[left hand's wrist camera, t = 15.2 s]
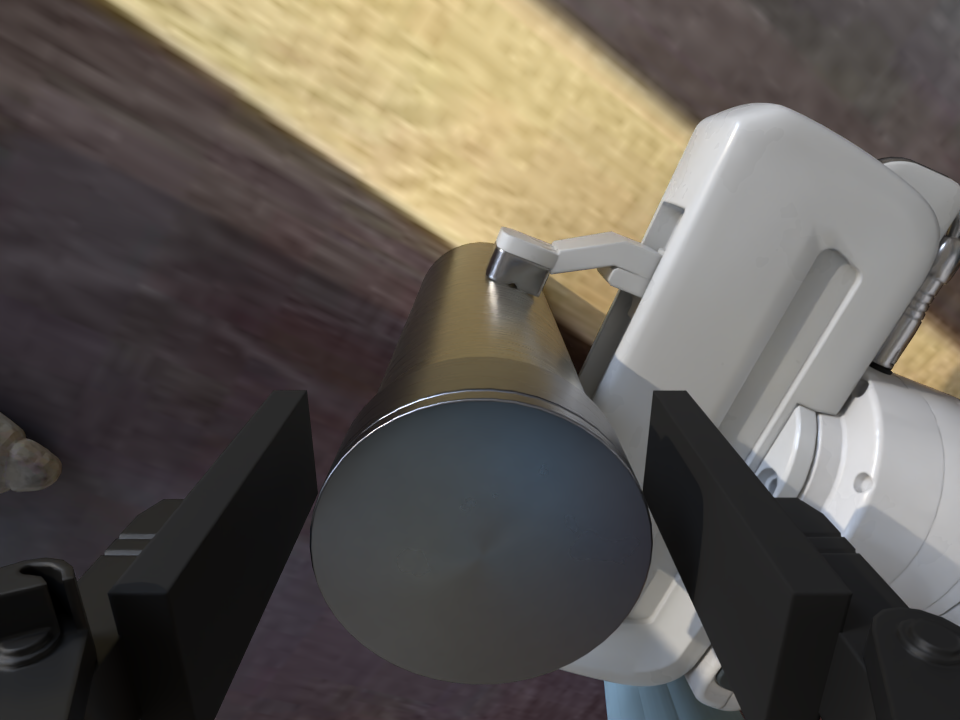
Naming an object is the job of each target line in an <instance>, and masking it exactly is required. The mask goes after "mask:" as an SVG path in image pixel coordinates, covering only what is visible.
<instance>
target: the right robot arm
mask: <svg viewBox="0 0 960 720" xmlns="http://www.w3.org/2000/svg"><path fill="white" fill-rule="evenodd" d="M947 230H948V231H947ZM946 231H947V233H946ZM945 233H946V235H945ZM959 267H960V185H959V184H958V183H956V182H955V181H953V180H952V179H950V178H949V177H948V176H946V175H944V174H942V173H940V172H937V171H935V170H933V169H931V168H928V167H926V166H924V165H922V164H920V163H917V162H915V161H913V160H911V159H907V158H903V157H886V158H880V159H876V158H874V157H873V156H871V155H870V154H868V153H867V152H865V151H864V150H862V149H861V148H859V147H858V146H856V145H855V144H853V143H852V142H850V141H848V140H847V139H845V138H843V137H842V136H840V135H838V134H837V133H835V132H833V131H832V130H830V129H828V128H827V127H825V126H823V125H821V124H819V123H817V122H816V121H814V120H812V119H810V118H808V117H806V116H804V115H802V114H800V113H798V112H796V111H794V110H792V109H789V108H787V107H785V106H782V105H777V104H771V103H749V104H744V105H739V106H736V107H733V108H730V109H727V110H724V111H722V112H719V113H717V114H714V115H712V116H710V117H707V118H705V119H704V120H702V121H701V122H700V123H699V124H698V125H697V127H696V128H695V130H694V132H693V134H692V136H691V138H690V140H689V142H688V145H687V147H686V149H685V151H684V153H683V155H682V157H681V159H680V161H679V164H678V166H677V168H676V170H675V172H674V174H673V176H672V178H671V180H670V183H669V185H668V187H667V189H666V191H665V193H664V195H663V197H662V199H661V201H660V204H659V206H658V208H657V210H656V212H655V214H654V216H653V218H652V220H651V223H650V225H649V227H648V229H647V231H646V233H645V235H644V237H643V239H642V242H641V243H640V242H637V241H635V240H632V239H629V238H627V237H624V236H622V235H619V234H617V233H614V232H612V231H610V232H604V233H598V234H593V235H587V236H581V237H575V238H569V239H563V240H557V241H553V243H552V244H549V243H546V242H544V241H541V240H539V239H536V238H534V237H531V236H529V235H526V234H524V233H521V232H518V231H516V230H513V229H510V228H506V227H502V226H501V229H500V231H499V234H498V237H497V239H496V241H495V244H494V247H493V249H492V252H491V255H490V258H489V260H488V263H487V266H486V269H485V270H486V275H487V276H488V277H489V278H491V279H493V280H495V281H497V282H501V283H504V284H511V283H515V285H516V286H517V288H518V289H520V290H522V291H524V292H526V293H528V294H531V295H534V296H536V297H539V295H540V293H541V291H542V289H543V287H544V284H545V282H546V280H547V278H548V276H549V273H550V274H557V273H564V272H572V271H579V270H586V269H594V268H597V271H598V272H599V273H600V274H601V276H602V277H603V278H604V279H605V280H606V281H607V282H608V283H609V284H610V285H611V286H613V287H616V288H618V289H619V290H618V292H617V294H616V296H615V298H614V301H613V303H612V305H611V307H610V309H609V311H608V313H607V315H606V317H605V320H604V322H603V324H602V326H601V328H600V330H599V332H598V334H597V336H596V338H595V341H594V343H593V345H592V347H591V349H590V351H589V353H588V355H587V357H586V360H585V362H584V364H583V366H582V368H581V370H580V372H579V374H578V378H579V380H580V382H581V385H582V387H583V390H584V392H585V394H586V395H587V396H588V397H589V398H590V399H591V400H592V401H593V402H594V403H595V404H596V405H597V406H598V408H599V409H600V410H601V411H602V413H603V414H604V415H605V416H606V418H607V419H608V421H609V423H610V424H611V426H612V428H613V429H614V431H615V433H616V435H617V437H618V439H619V441H620V443H621V446H622V448H623V450H624V452H625V454H626V457H627V459H628V461H629V463H630V465H631V467H632V470H633V472H634V474H635V476H636V478H637V480H638V483H639V485H640V487H641V489H642V490H643V481H644V471H645V462H646V453H647V443H648V434H649V424H650V415H651V406H652V396H653V390H686V391H687V392H688V393H689V394H690V396H691V397H692V398H693V399H694V400H695V402H696V403H697V404H698V405H699V407H700V408H701V409H702V410H703V411H704V413H705V414H706V415H707V416H708V418H709V419H710V420H711V421H712V422H713V424H714V425H715V426H716V427H717V428H718V430H719V431H720V432H721V433H722V435H723V436H724V437H725V438H726V439H727V441H728V442H729V443H730V444H731V446H732V447H733V448H734V449H735V450H736V452H737V453H738V454H739V455H740V456H741V458H742V459H743V460H744V461H745V463H746V464H747V465H748V466H749V467H750V469H751V470H752V471H753V472H754V474H755V475H756V476H757V477H758V478H759V480H760V481H761V482H762V483H763V484H764V486H765V487H766V488H767V489H768V491H769V492H770V493H771V494H772V495H773V497H797V498H799V499H800V500H802V501H804V502H805V503H807V504H808V505H810V506H812V507H813V508H815V509H816V510H818V511H820V512H821V513H823V514H824V515H825V516H826V517H827V518H828V519H829V521H830V522H831V523H832V524H833V525H834V526H835V527H836V528H837V529H838V530H839V531H840V533H841V537H845V538H846V539H847V540H848V541H849V542H850V543H851V545H852V546H853V547H854V548H855V549H856V553H860V554H861V555H862V557H863V558H864V559H865V560H866V561H867V562H868V563H869V564H870V565H871V566H872V567H873V569H874V570H875V571H876V572H877V573H878V574H879V575H880V576H881V577H882V578H883V579H884V581H885V582H886V583H887V584H888V585H889V586H890V587H891V588H892V589H893V590H894V591H895V593H896V594H897V595H898V596H899V597H900V598H901V599H902V600H903V601H904V602H905V603H906V605H907V606H908V607H909V608H912V609H919V610H923V611H926V612H929V613H931V614H934V615H937V616H940V617H943V618H945V619H947V620H949V621H951V622H952V623H954V624H956V625H958V626H960V399H958V398H956V397H953V396H951V395H949V394H946V393H944V392H941V391H938V390H936V389H933V388H931V387H928V386H926V385H923V384H921V383H918V382H916V381H913V380H910V379H908V378H905V377H903V376H900V375H898V374H895V373H893V372H892V371H891V369H892V368H893V366H894V364H895V363H896V362H897V360H898V359H899V357H900V356H901V354H902V353H903V351H904V350H905V348H906V347H907V345H908V344H909V342H910V341H911V339H912V338H913V336H914V335H915V333H916V331H917V330H918V328H919V326H920V324H921V323H922V322H921V320H923V319H924V316H925V312H927V310H928V308H929V307H930V306H929V304H931V303H932V301H933V300H934V296H936V295H937V294H938V292H939V291H940V289H941V288H942V286H943V285H944V284H947V283H948V282H949V281H950V280H951V278H952V277H953V276H954V274H955V273H956V271H957V270H958V268H959ZM648 509H649V507H648ZM649 513H650V518H651V522H652V534H653V549H652V559H651V564H650V568H649V572H648V576H647V580H646V583H645V585H644V587H643V590H642V592H641V594H640V597H639V599H638V600H637V602H636V604H635V605H634V607H633V609H632V610H631V612H630V614H629V615H628V616H627V617H626V619H625V620H624V621H623V622H622V624H621V625H620V626H619V627H618V629H617V630H615V631H614V632H613V633H612V634H611V635H610V636H609V637H608V638H607V639H606V640H605V641H604V642H603V643H601V644H600V645H599V646H597V647H596V648H595V649H593V650H592V651H591V652H589V653H588V654H586V655H585V656H583V657H581V658H580V659H578V660H576V661H574V662H573V663H571V664H569V665H566V666H564V667H562V668H560V670H564V671H567V672H571V673H575V674H579V675H583V676H587V677H590V678H595V679H599V680H603V681H608V682H612V683H617V684H622V685H630V686H657V685H662V684H666V683H669V682H672V681H674V680H676V679H678V678H680V677H681V676H683V675H684V676H685V678H686V680H687V682H688V684H689V686H690V688H691V690H692V692H693V694H694V695H695V697H696V699H697V700H698V701H700V702H701V703H703V704H705V705H707V706H710V707H712V708H715V709H719V710H724V711H738V710H741V708H740V706H739V704H738V702H737V699H736V697H735V695H734V693H733V691H732V689H731V686H730V684H729V682H728V680H727V678H726V675H725V673H724V671H723V669H722V667H721V665H720V662H719V660H718V658H717V656H716V654H715V651H714V649H713V647H712V645H711V643H710V641H709V638H708V636H707V634H706V632H705V630H704V627H703V625H702V623H701V621H700V619H699V616H698V614H697V612H696V610H695V608H694V606H693V603H692V601H691V599H690V597H689V595H688V592H687V590H686V588H685V586H684V584H683V582H682V579H681V577H680V575H679V573H678V571H677V568H676V566H675V564H674V562H673V560H672V558H671V555H670V553H669V551H668V549H667V547H666V544H665V542H664V540H663V538H662V536H661V533H660V531H659V529H658V527H657V525H656V523H655V520H654V518H653V516H652V514H651V512H650V509H649Z"/></svg>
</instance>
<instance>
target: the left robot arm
mask: <svg viewBox="0 0 960 720" xmlns="http://www.w3.org/2000/svg"><path fill="white" fill-rule="evenodd" d="M642 492H643V495H644V497H645V500H646V502H647V505H648V507H649V509H650V512H651V514H652V516H653V518H654V520H655V523H656V525H657V527H658V529H659V531H660V533H661V536H662V538H663V540H664V542H665V544H666V547H667V549H668V551H669V553H670V555H671V558H672V560H673V562H674V564H675V566H676V568H677V571H678V573H679V575H680V577H681V579H682V582H683V584H684V586H685V588H686V590H687V592H688V595H689V597H690V599H691V601H692V603H693V606H694V608H695V610H696V612H697V614H698V616H699V619H700V621H701V623H702V625H703V627H704V630H705V632H706V634H707V636H708V638H709V641H710V643H711V645H712V647H713V649H714V651H715V654H716V656H717V658H718V660H719V662H720V665H721V667H722V669H723V671H724V673H725V675H726V678H727V680H728V682H729V684H730V686H731V689H732V691H733V693H734V695H735V697H736V699H737V702H738V704H739V706H740V708H741V710H742V713H743V715H744V717H745V719H746V720H820V717H821V718H822V720H960V626H958V625H956V624H954V623H952V622H951V621H949V620H947V619H945V618H943V617H940V616H937V615H934V614H931V613H929V612H926V611H923V610H919V609H912V608H909V607H908V606H907V605H906V603H905V602H904V601H903V600H902V599H901V598H900V597H899V596H898V595H897V594H896V593H895V591H894V590H893V589H892V588H891V587H890V586H889V585H888V584H887V583H886V582H885V581H884V579H883V578H882V577H881V576H880V575H879V574H878V573H877V572H876V571H875V570H874V569H873V567H872V566H871V565H870V564H869V563H868V562H867V561H866V560H865V559H864V558H863V557H862V555H861V554H860V553H856V549H855V548H854V547H853V546H852V545H851V543H850V542H849V541H848V540H847V539H846V538H845V537H841V533H840V531H839V530H838V529H837V528H836V527H835V526H834V525H833V524H832V523H831V522H830V521H829V519H828V518H827V517H826V516H825V515H824V514H823V513H821V512H820V511H818V510H816V509H815V508H813V507H812V506H810V505H808V504H807V503H805V502H804V501H802V500H800V499H799V498H797V497H773V495H772V494H771V493H770V492H769V491H768V489H767V488H766V487H765V486H764V484H763V483H762V482H761V481H760V480H759V478H758V477H757V476H756V475H755V474H754V472H753V471H752V470H751V469H750V467H749V466H748V465H747V464H746V463H745V461H744V460H743V459H742V458H741V456H740V455H739V454H738V453H737V452H736V450H735V449H734V448H733V447H732V446H731V444H730V443H729V442H728V441H727V439H726V438H725V437H724V436H723V435H722V433H721V432H720V431H719V430H718V428H717V427H716V426H715V425H714V424H713V422H712V421H711V420H710V419H709V418H708V416H707V415H706V414H705V413H704V411H703V410H702V409H701V408H700V407H699V405H698V404H697V403H696V402H695V400H694V399H693V398H692V397H691V396H690V394H689V393H688V392H687V391H686V390H653V396H652V406H651V415H650V424H649V434H648V443H647V453H646V462H645V471H644V481H643V490H642ZM317 494H318V490H317V481H316V471H315V462H314V453H313V443H312V434H311V424H310V415H309V406H308V396H307V390H274V391H273V392H272V393H271V394H270V396H269V397H268V398H267V399H266V400H265V402H264V403H263V404H262V405H261V407H260V408H259V409H258V410H257V411H256V413H255V414H254V415H253V416H252V418H251V419H250V420H249V421H248V422H247V424H246V425H245V426H244V427H243V428H242V430H241V431H240V432H239V433H238V435H237V436H236V437H235V438H234V439H233V441H232V442H231V443H230V444H229V446H228V447H227V448H226V449H225V450H224V452H223V453H222V454H221V455H220V456H219V458H218V459H217V460H216V461H215V463H214V464H213V465H212V466H211V467H210V469H209V470H208V471H207V472H206V474H205V475H204V476H203V477H202V478H201V480H200V481H199V482H198V483H197V484H196V486H195V487H194V488H193V489H192V491H191V492H190V493H189V494H188V495H187V497H186V498H185V499H163V500H162V501H160V502H158V503H157V504H155V505H154V506H152V507H150V508H149V509H147V510H146V511H144V512H142V513H141V514H139V515H138V516H137V517H136V518H135V519H134V520H133V521H132V522H131V523H130V524H129V525H128V526H127V528H126V529H125V530H124V531H123V532H122V533H121V534H120V537H119V539H116V540H115V541H114V542H113V543H112V544H111V545H110V546H109V547H108V548H107V549H106V551H105V555H101V556H100V557H99V558H98V559H97V560H96V562H95V563H94V564H93V565H92V566H91V567H90V568H89V569H88V570H87V571H86V573H85V574H84V575H83V576H82V577H81V578H80V579H79V580H78V581H77V580H76V577H75V573H74V569H73V567H72V566H71V565H69V564H68V563H67V562H65V561H64V560H59V559H52V558H40V559H32V560H24V561H21V562H18V563H14V564H11V565H8V566H4V567H1V568H0V720H214V719H215V717H216V715H217V713H218V710H219V708H220V706H221V704H222V702H223V699H224V697H225V695H226V693H227V691H228V689H229V686H230V684H231V682H232V680H233V678H234V675H235V673H236V671H237V669H238V667H239V665H240V662H241V660H242V658H243V656H244V654H245V651H246V649H247V647H248V645H249V643H250V641H251V638H252V636H253V634H254V632H255V630H256V627H257V625H258V623H259V621H260V619H261V616H262V614H263V612H264V610H265V608H266V606H267V603H268V601H269V599H270V597H271V595H272V592H273V590H274V588H275V586H276V584H277V582H278V579H279V577H280V575H281V573H282V571H283V568H284V566H285V564H286V562H287V560H288V558H289V555H290V553H291V551H292V549H293V547H294V544H295V542H296V540H297V538H298V536H299V534H300V531H301V529H302V527H303V525H304V523H305V520H306V518H307V516H308V514H309V512H310V509H311V507H312V505H313V503H314V501H315V499H316V496H317Z"/></svg>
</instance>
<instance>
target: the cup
mask: <svg viewBox="0 0 960 720" xmlns="http://www.w3.org/2000/svg"><path fill="white" fill-rule="evenodd" d="M604 686H605V696H606V706H607V716H608V720H744V718H743V716H742V714H741V713H740V711H739V710H738V711H724V710H719V709H715V708H712V707H710V706H707V705H705V704H703V703H701V702H700V701H698V700H697V699H696V697H695V695H694V694H693V692H692V690H691V688H690V686H689V684H688V682H687V680H686V678H685V676H684V675H683V676H681V677H680V678H678V679H676V680H674V681H672V682H669V683H666V684H662V685H657V686H630V685H622V684H617V683H612V682H608V681H604Z"/></svg>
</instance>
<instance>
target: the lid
mask: <svg viewBox="0 0 960 720" xmlns="http://www.w3.org/2000/svg"><path fill="white" fill-rule="evenodd" d="M652 549H653V534H652V522H651V518H650V513H649V509H648V505H647V502H646V500H645V497H644V495H643V492H642V489H641V487H640V485H639V483H638V480H637V478H636V476H635V474H634V472H633V470H632V467H631V465H630V463H629V461H628V459H627V457H626V454H625V452H624V450H623V448H622V446H621V443H620V441H619V439H618V437H617V435H616V433H615V431H614V429H613V428H612V426H611V424H610V423H609V421H608V419H607V418H606V416H605V415H604V414H603V413H602V411H601V410H600V409H599V408H598V406H597V405H596V404H595V403H594V402H593V401H592V400H591V399H590V398H589V397H588V396H587V395H586V394H584V393H583V392H582V391H581V390H580V389H578V388H577V387H575V386H574V385H573V384H571V383H570V382H568V381H567V380H565V379H564V378H562V377H560V376H558V375H556V374H554V373H552V372H550V371H548V370H546V369H543V368H540V367H538V366H535V365H532V364H530V363H525V362H521V361H517V360H513V359H507V358H498V357H464V358H456V359H449V360H445V361H441V362H437V363H434V364H430V365H427V366H424V367H422V368H420V369H417V370H415V371H412V372H410V373H408V374H406V375H404V376H403V377H401V378H399V379H397V380H396V381H394V382H392V383H391V384H390V385H388V386H387V387H386V388H384V389H383V390H382V391H380V392H379V393H378V394H377V395H376V396H375V397H374V398H373V399H372V400H371V401H370V402H369V403H368V404H367V405H366V406H365V407H364V408H363V409H362V411H361V412H360V413H359V415H358V416H357V417H356V419H355V420H354V421H353V423H352V425H351V427H350V429H349V430H348V432H347V434H346V436H345V438H344V440H343V442H342V444H341V447H340V449H339V451H338V453H337V455H336V458H335V460H334V462H333V464H332V466H331V469H330V471H329V473H328V475H327V477H326V480H325V482H324V484H323V486H322V488H321V490H320V493H319V496H318V499H317V502H316V504H315V507H314V511H313V516H312V521H311V527H310V553H311V560H312V567H313V570H314V574H315V577H316V580H317V584H318V586H319V588H320V591H321V593H322V595H323V597H324V599H325V601H326V603H327V604H328V606H329V608H330V609H331V611H332V612H333V614H334V615H335V617H336V618H337V619H338V620H339V622H340V623H341V624H342V625H343V626H344V627H345V629H346V630H347V631H348V632H349V633H350V634H351V635H352V636H353V637H355V638H356V639H357V640H358V641H359V642H360V643H361V644H362V645H364V646H365V647H366V648H368V649H369V650H371V651H372V652H373V653H375V654H376V655H378V656H379V657H381V658H383V659H385V660H387V661H388V662H390V663H392V664H394V665H396V666H398V667H401V668H403V669H405V670H408V671H410V672H413V673H415V674H419V675H422V676H425V677H429V678H432V679H437V680H442V681H447V682H452V683H463V684H500V683H509V682H516V681H521V680H525V679H530V678H534V677H538V676H541V675H544V674H547V673H550V672H553V671H555V670H557V669H560V668H562V667H564V666H566V665H569V664H571V663H573V662H574V661H576V660H578V659H580V658H581V657H583V656H585V655H586V654H588V653H589V652H591V651H592V650H593V649H595V648H596V647H597V646H599V645H600V644H601V643H603V642H604V641H605V640H606V639H607V638H608V637H609V636H610V635H611V634H612V633H613V632H614V631H615V630H617V629H618V627H619V626H620V625H621V624H622V622H623V621H624V620H625V619H626V617H627V616H628V615H629V614H630V612H631V610H632V609H633V607H634V605H635V604H636V602H637V600H638V599H639V597H640V594H641V592H642V590H643V587H644V585H645V583H646V580H647V576H648V572H649V568H650V564H651V559H652Z"/></svg>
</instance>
